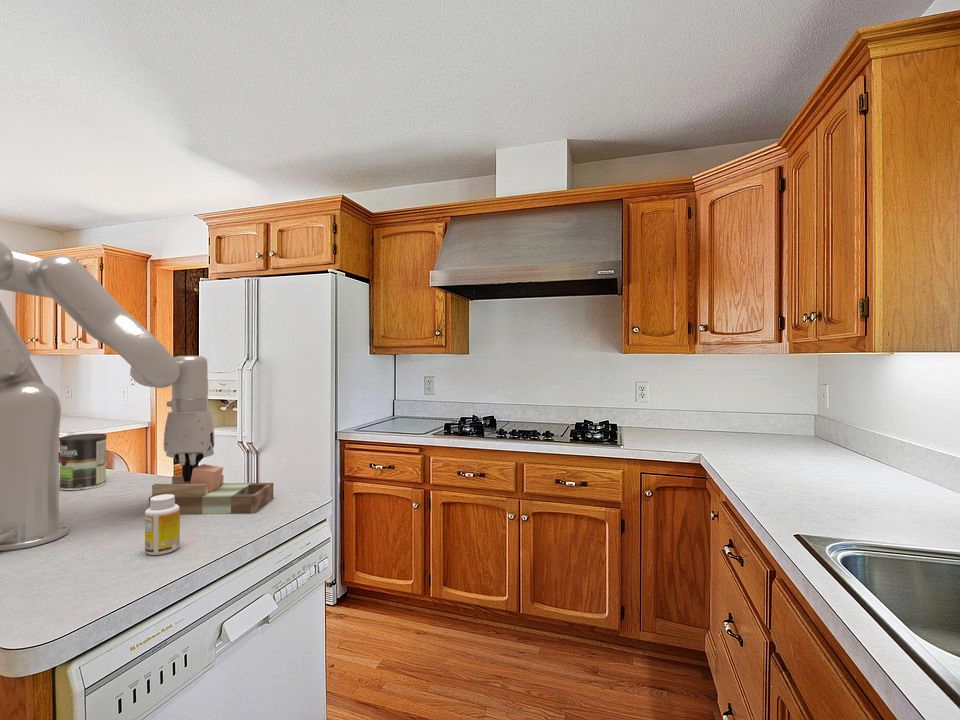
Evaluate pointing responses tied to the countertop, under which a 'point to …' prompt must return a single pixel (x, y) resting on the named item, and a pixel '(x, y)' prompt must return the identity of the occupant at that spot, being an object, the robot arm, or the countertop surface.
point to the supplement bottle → (162, 525)
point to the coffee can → (82, 461)
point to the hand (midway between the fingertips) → (190, 480)
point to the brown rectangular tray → (216, 496)
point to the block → (207, 476)
